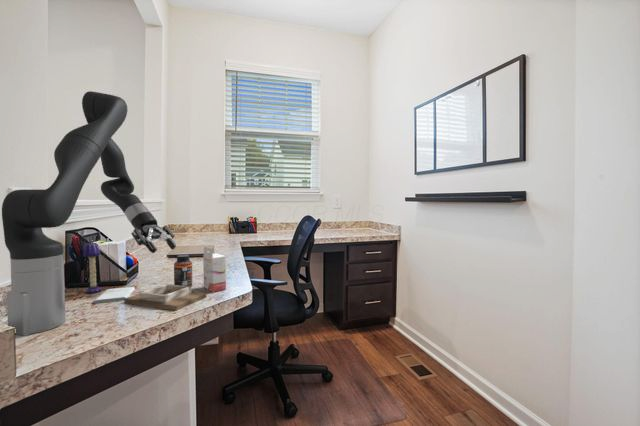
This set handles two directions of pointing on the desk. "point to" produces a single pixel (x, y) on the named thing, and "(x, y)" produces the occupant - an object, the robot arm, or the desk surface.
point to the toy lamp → (92, 266)
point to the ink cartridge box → (214, 270)
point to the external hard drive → (114, 295)
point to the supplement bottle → (183, 271)
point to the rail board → (166, 297)
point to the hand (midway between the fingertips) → (165, 249)
